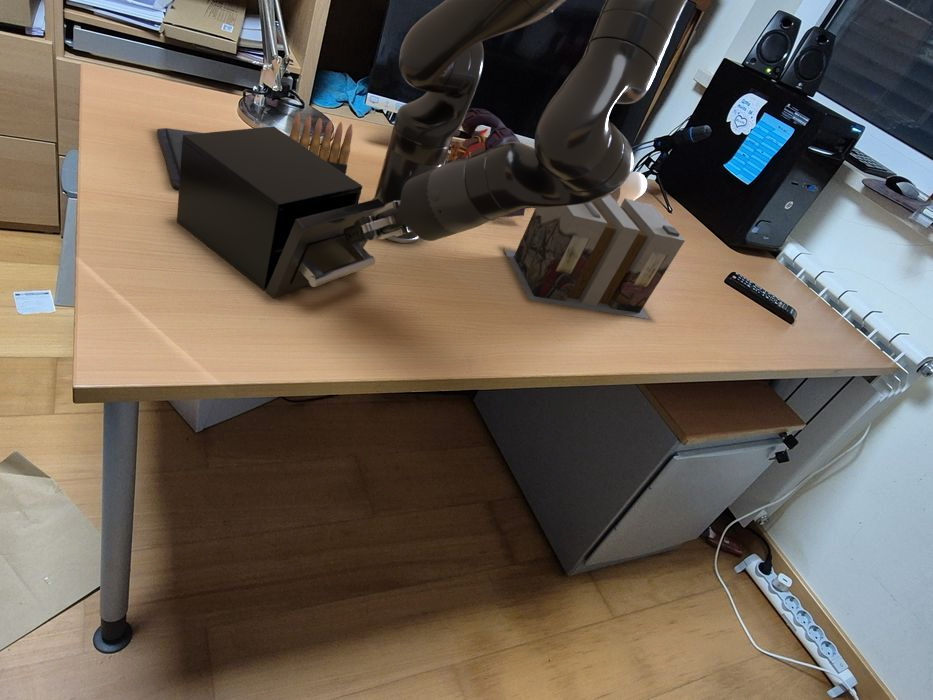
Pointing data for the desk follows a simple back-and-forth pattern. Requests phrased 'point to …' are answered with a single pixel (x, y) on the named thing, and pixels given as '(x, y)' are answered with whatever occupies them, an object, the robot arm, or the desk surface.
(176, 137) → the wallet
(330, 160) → the ammunition clip
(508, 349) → the desk surface
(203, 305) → the desk surface
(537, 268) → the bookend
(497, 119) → the figurine
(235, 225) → the oven
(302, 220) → the oven door
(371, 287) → the desk surface
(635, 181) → the lightbulb
